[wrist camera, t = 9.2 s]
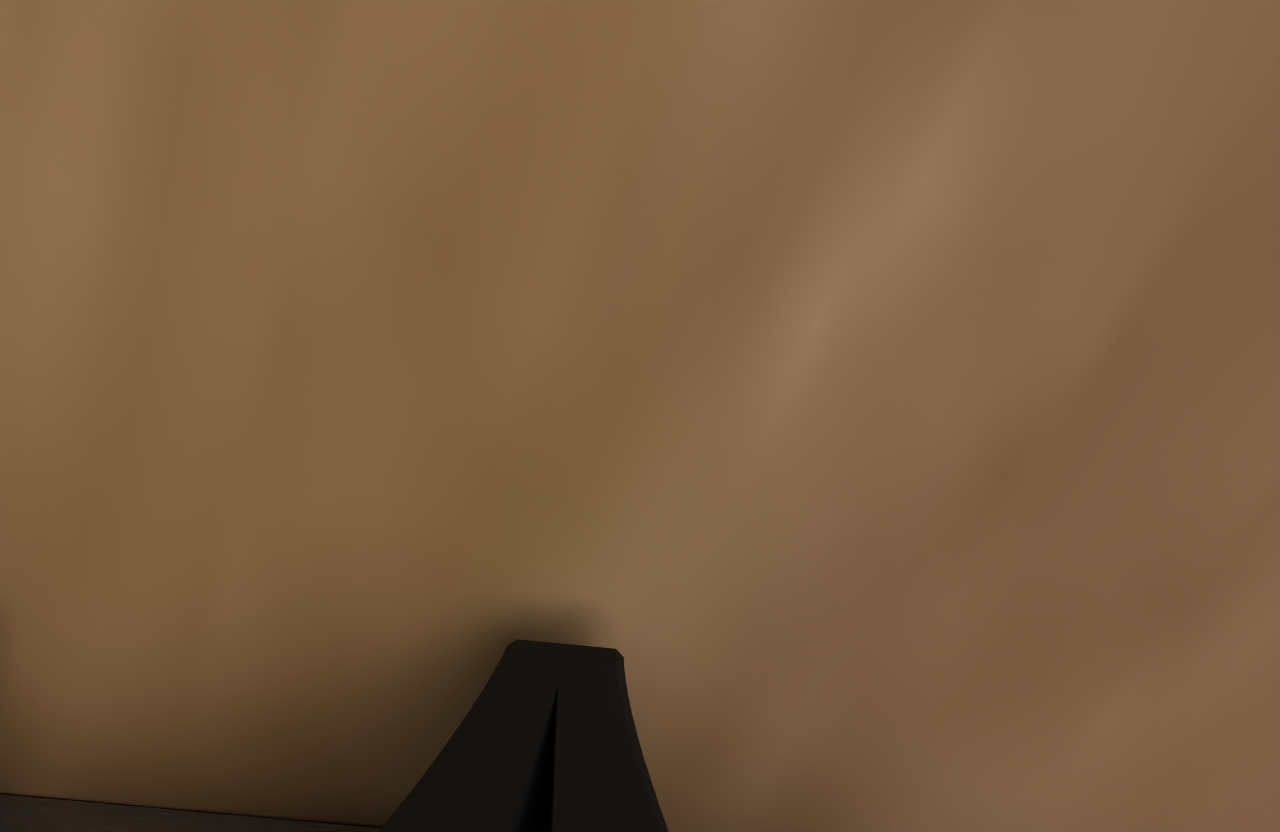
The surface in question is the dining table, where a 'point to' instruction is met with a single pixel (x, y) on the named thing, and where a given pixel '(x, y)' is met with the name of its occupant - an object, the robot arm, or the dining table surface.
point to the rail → (137, 819)
